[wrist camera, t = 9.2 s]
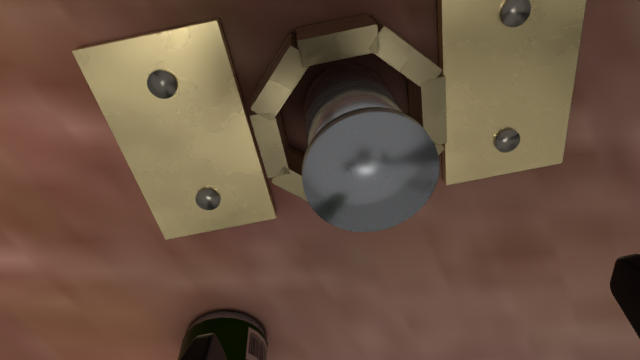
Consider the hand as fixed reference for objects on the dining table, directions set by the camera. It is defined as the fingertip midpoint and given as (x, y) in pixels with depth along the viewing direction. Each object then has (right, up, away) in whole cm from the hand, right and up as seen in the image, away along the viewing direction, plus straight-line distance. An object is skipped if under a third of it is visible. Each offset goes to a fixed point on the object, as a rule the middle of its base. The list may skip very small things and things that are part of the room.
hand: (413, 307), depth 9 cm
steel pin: (-1, +6, +10) cm, 12 cm away
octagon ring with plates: (-1, +6, +10) cm, 12 cm away
